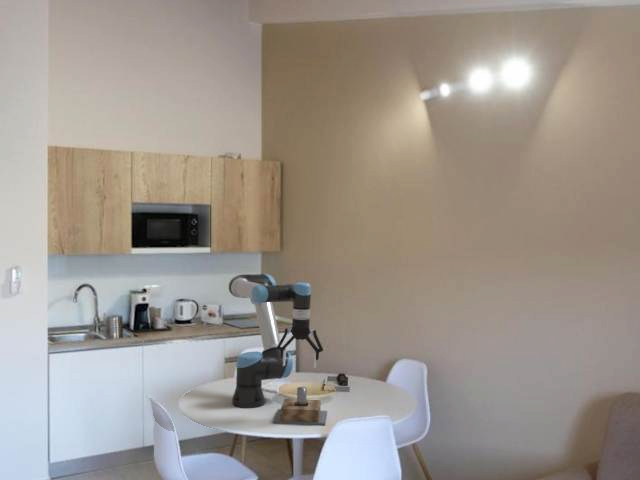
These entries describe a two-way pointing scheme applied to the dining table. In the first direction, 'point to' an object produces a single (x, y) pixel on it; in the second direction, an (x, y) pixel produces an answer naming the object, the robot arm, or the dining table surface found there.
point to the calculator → (274, 386)
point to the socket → (301, 413)
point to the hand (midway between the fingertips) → (299, 366)
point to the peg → (301, 396)
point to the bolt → (342, 379)
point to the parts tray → (339, 388)
